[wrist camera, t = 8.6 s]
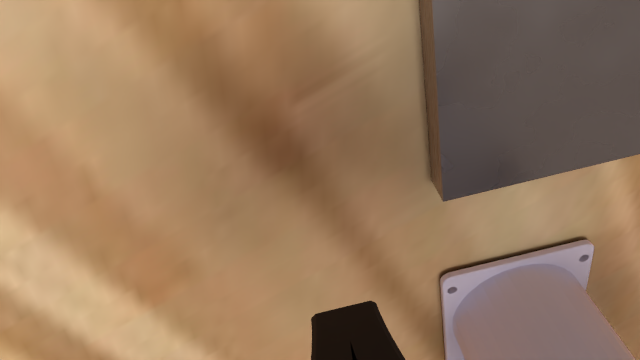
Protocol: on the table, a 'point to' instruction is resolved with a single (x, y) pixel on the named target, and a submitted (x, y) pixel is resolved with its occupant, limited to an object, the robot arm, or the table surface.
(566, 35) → the plate
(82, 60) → the table surface
